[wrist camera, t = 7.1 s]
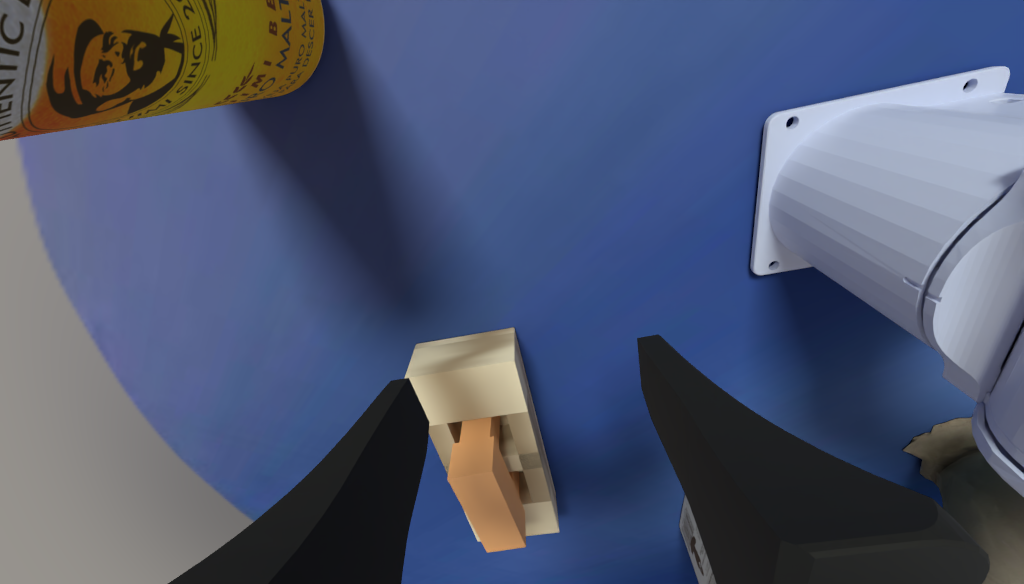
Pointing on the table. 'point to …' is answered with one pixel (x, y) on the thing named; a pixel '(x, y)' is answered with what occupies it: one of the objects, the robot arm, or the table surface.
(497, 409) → the cream slotted block
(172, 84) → the beer can
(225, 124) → the table surface
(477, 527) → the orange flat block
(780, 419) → the table surface
